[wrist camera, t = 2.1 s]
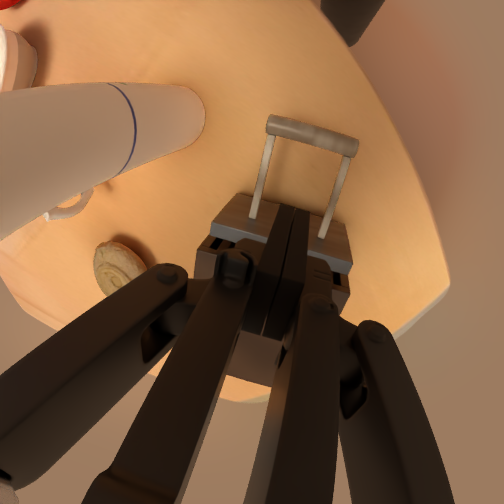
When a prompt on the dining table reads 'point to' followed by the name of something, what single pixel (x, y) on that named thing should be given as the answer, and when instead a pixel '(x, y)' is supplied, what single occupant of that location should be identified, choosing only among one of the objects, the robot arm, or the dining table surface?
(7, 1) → the tomato
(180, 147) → the cylindrical container
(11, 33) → the bowl
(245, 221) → the drawer
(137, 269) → the oil lamp
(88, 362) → the robot arm
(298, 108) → the dining table surface
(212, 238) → the cabinet
